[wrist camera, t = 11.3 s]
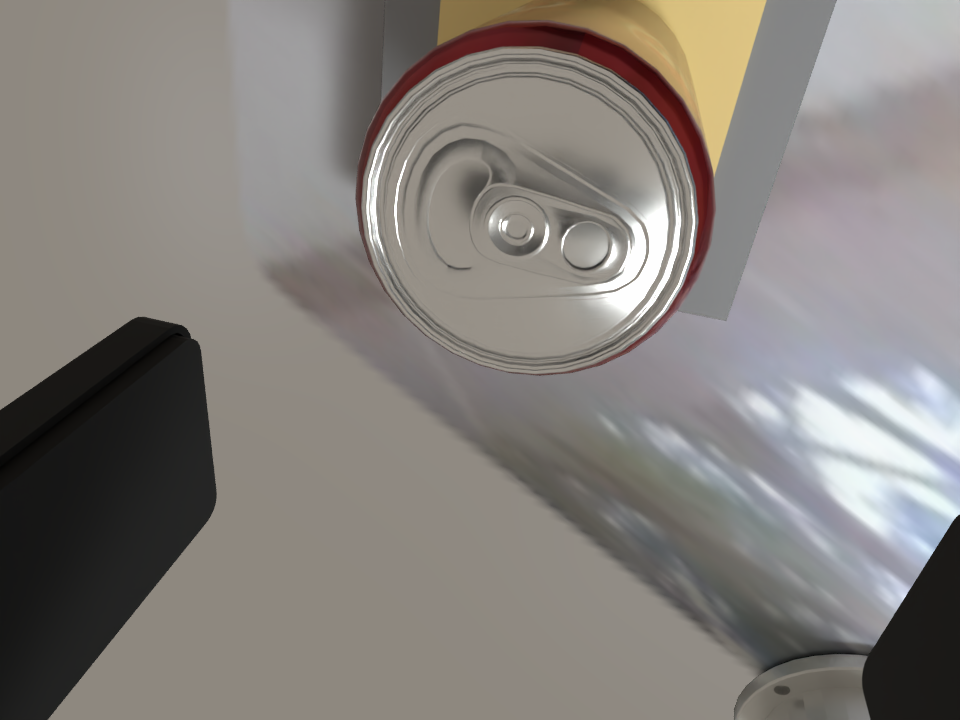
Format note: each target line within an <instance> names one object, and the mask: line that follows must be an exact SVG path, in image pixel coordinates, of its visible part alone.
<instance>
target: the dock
mask: <svg viewBox="0 0 960 720" xmlns="http://www.w3.org/2000/svg"><path fill="white" fill-rule="evenodd" d="M531 1H533V0H385V10H384V36H383V62H382V87H381V101H382V99H383V97H384V96H385V95H386V94H387V93H388V91H389V90H390V89H391V88H392V86H393V85H394V84H395V83H396V82H397V80H398V79H399V78H400V77H401V75H402V74H403V73H404V72H405V70H407V69H408V68H409V67H410V66H412V65H413V64H414V63H415V62H417V61H418V60H419V59H420V58H422V57H423V56H424V55H426V54H427V53H428V52H429V51H431V50H432V49H433V48H434V47H436V46H438V45H440V44H442V43H444V42H446V41H449V40H451V39H453V38H455V37H457V36H459V35H461V34H463V33H465V32H467V31H469V30H471V29H473V28H475V27H478V26H480V25H482V24H484V23H486V22H488V21H490V20H492V19H495V18H497V17H499V16H501V15H503V14H505V13H507V12H509V11H512V10H514V9H516V8H518V7H520V6H522V5H524V4H526V3H529V2H531ZM638 1H640V2H641V3H642V4H644V5H645V6H646V7H648V8H649V9H650V10H652V11H653V12H654V13H656V14H657V15H658V16H659V17H660V18H661V19H662V20H663V21H664V23H665V24H666V25H667V26H668V27H669V28H670V30H671V31H672V32H673V33H674V34H675V36H676V38H677V40H678V42H679V44H680V46H681V48H682V49H683V51H684V53H685V55H686V58H687V62H688V65H689V69H690V72H691V76H692V80H693V84H694V88H695V93H696V97H697V102H698V106H699V111H700V115H701V120H702V124H703V128H704V133H705V137H706V142H707V146H708V151H709V155H710V159H711V164H712V168H713V173H714V187H715V202H716V214H715V220H714V227H713V234H712V241H711V246H710V249H709V252H708V255H707V257H706V260H705V263H704V266H703V268H702V271H701V274H700V276H699V279H698V280H697V282H696V284H695V285H694V287H693V288H692V290H691V292H690V293H689V295H688V296H687V298H686V300H685V301H684V303H683V304H682V306H681V307H680V308H679V310H678V311H679V312H684V313H689V314H694V315H699V316H704V317H709V318H714V319H719V320H724V321H726V320H727V317H728V314H729V311H730V308H731V306H732V303H733V300H734V297H735V294H736V291H737V288H738V285H739V282H740V279H741V277H742V274H743V271H744V268H745V265H746V262H747V259H748V256H749V253H750V250H751V248H752V245H753V242H754V239H755V236H756V233H757V230H758V227H759V224H760V221H761V219H762V216H763V213H764V210H765V207H766V204H767V201H768V198H769V195H770V192H771V189H772V187H773V184H774V181H775V178H776V175H777V172H778V169H779V166H780V163H781V160H782V158H783V155H784V152H785V149H786V146H787V143H788V140H789V137H790V134H791V131H792V129H793V126H794V123H795V120H796V117H797V114H798V111H799V108H800V105H801V102H802V100H803V97H804V94H805V91H806V88H807V85H808V82H809V79H810V76H811V73H812V70H813V68H814V65H815V62H816V59H817V56H818V53H819V50H820V47H821V44H822V41H823V39H824V36H825V33H826V30H827V27H828V24H829V21H830V18H831V15H832V12H833V10H834V7H835V4H836V1H837V0H638Z"/></svg>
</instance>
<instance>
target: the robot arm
mask: <svg viewBox="0 0 960 720" xmlns="http://www.w3.org/2000/svg"><path fill="white" fill-rule="evenodd" d="M215 503H216V484H215V474H214V465H213V458H212V447H211V439H210V429H209V420H208V412H207V403H206V393H205V384H204V374H203V365H202V356H201V349H200V345H199V344H198V342H197V341H196V340H194V339H191V336H190V333H189V332H188V330H187V329H186V328H185V327H184V326H182V325H178V324H173V323H169V322H165V321H160V320H156V319H151V318H147V317H137V318H135V319H133V320H131V321H129V322H128V323H126V324H125V325H123V326H122V327H121V328H119V329H118V330H116V331H115V332H113V333H112V334H111V335H109V336H107V337H106V338H105V339H103V340H102V341H100V342H99V343H97V344H96V345H94V346H93V347H92V348H90V349H89V350H87V351H86V352H84V353H83V354H81V355H80V356H78V357H77V358H76V359H74V360H73V361H71V362H70V363H68V364H67V365H65V366H64V367H62V368H61V369H59V370H58V371H57V372H55V373H54V374H52V375H51V376H49V377H48V378H46V379H45V380H43V381H42V382H40V383H39V384H38V385H36V386H35V387H33V388H32V389H30V390H29V391H28V392H26V393H24V394H23V395H22V396H20V397H19V398H17V399H16V400H14V401H13V402H11V403H10V404H8V405H7V406H6V407H4V408H3V409H1V410H0V720H48V718H49V717H50V716H51V715H52V714H53V712H54V711H55V710H56V709H57V707H58V706H59V705H60V704H61V702H62V701H63V700H64V699H65V697H66V696H67V695H68V693H69V692H70V691H71V690H72V688H73V687H74V686H75V685H76V684H77V683H78V681H79V680H80V679H81V678H82V676H83V675H84V674H85V672H86V671H87V670H88V669H89V668H90V666H91V665H92V663H94V661H95V660H96V659H97V658H98V656H99V655H100V654H101V653H102V651H103V650H104V649H105V648H106V646H107V645H108V644H109V643H110V641H111V640H112V639H113V638H114V637H115V635H116V634H117V633H118V632H119V630H120V629H121V628H122V627H123V625H124V624H125V623H126V622H127V620H128V619H129V618H130V617H131V615H132V614H133V613H134V612H135V610H136V609H137V608H138V607H139V606H140V604H141V603H142V602H143V601H144V599H145V598H146V597H147V596H148V594H149V593H150V592H151V591H152V589H153V588H154V587H155V586H156V584H157V583H158V582H159V581H160V580H161V578H162V577H163V576H164V574H165V573H166V572H167V571H168V570H169V568H170V567H171V566H172V565H173V563H174V562H175V561H176V560H177V558H178V557H179V556H180V555H181V553H182V552H183V551H184V549H185V548H186V547H187V546H188V545H189V543H190V542H191V541H192V540H193V539H194V537H195V536H196V535H197V534H198V532H199V531H200V530H201V529H202V527H203V526H204V525H205V524H206V522H207V521H208V519H209V518H210V516H211V514H212V512H213V510H214V507H215ZM734 720H960V515H958V516H957V517H956V518H955V520H954V521H953V522H952V524H951V525H950V527H949V529H948V530H947V532H946V533H945V535H944V537H943V538H942V540H941V541H940V543H939V545H938V546H937V548H936V549H935V551H934V552H933V554H932V556H931V557H930V559H929V560H928V562H927V564H926V565H925V567H924V568H923V570H922V572H921V573H920V575H919V576H918V578H917V579H916V581H915V583H914V584H913V586H912V587H911V589H910V591H909V592H908V594H907V595H906V597H905V599H904V600H903V602H902V603H901V605H900V607H899V608H898V610H897V611H896V613H895V614H894V616H893V618H892V619H891V621H890V622H889V624H888V626H887V627H886V629H885V630H884V632H883V634H882V635H881V637H880V638H879V640H878V641H877V643H876V645H875V646H874V648H873V649H872V651H871V653H870V654H869V656H865V655H851V654H830V655H817V656H811V657H806V658H801V659H796V660H792V661H789V662H787V663H784V664H781V665H778V666H775V667H773V668H772V669H770V670H768V671H766V672H764V673H762V674H761V675H759V676H758V677H756V678H755V679H754V680H753V681H752V682H750V683H749V684H748V685H747V686H746V687H745V689H744V690H743V691H742V693H741V694H740V695H739V697H738V699H737V703H736V705H735V708H734Z"/></svg>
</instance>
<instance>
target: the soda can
mask: <svg viewBox="0 0 960 720" xmlns="http://www.w3.org/2000/svg"><path fill="white" fill-rule="evenodd" d="M356 206H357V214H358V222H359V231H360V234H361V237H362V240H363V244H364V247H365V250H366V253H367V256H368V260H369V262H370V264H371V266H372V268H373V270H374V272H375V274H376V276H377V278H378V279H379V281H380V283H381V285H382V287H383V289H384V291H385V292H386V293H387V294H388V296H389V297H390V298H391V300H392V301H393V302H394V304H395V305H396V306H397V307H398V309H399V310H400V311H401V313H402V314H403V315H404V316H405V317H406V318H407V319H408V320H409V321H410V322H412V323H413V324H414V325H415V326H416V327H417V328H418V329H419V330H420V331H421V332H422V333H423V334H424V335H426V336H427V337H429V338H430V339H432V340H433V341H435V342H436V343H438V344H439V345H441V346H442V347H444V348H445V349H447V350H448V351H450V352H451V353H453V354H456V355H458V356H460V357H462V358H465V359H467V360H469V361H471V362H474V363H476V364H478V365H481V366H485V367H489V368H493V369H496V370H500V371H504V372H508V373H517V374H528V375H539V376H541V375H553V374H565V373H573V372H577V371H581V370H584V369H588V368H592V367H596V366H600V365H602V364H605V363H607V362H609V361H611V360H613V359H615V358H617V357H620V356H622V355H624V354H626V353H628V352H630V351H631V350H633V349H634V348H636V347H637V346H638V345H640V344H641V343H643V342H644V341H645V340H647V339H648V338H650V337H651V336H652V335H654V334H655V333H656V332H658V331H659V330H660V329H661V328H662V326H663V325H664V324H665V323H666V322H667V321H668V320H669V319H670V318H671V317H672V316H673V315H674V314H675V313H676V312H677V311H678V310H679V308H680V307H681V306H682V304H683V303H684V301H685V300H686V298H687V296H688V295H689V293H690V292H691V290H692V288H693V287H694V285H695V284H696V282H697V280H698V279H699V276H700V274H701V271H702V268H703V266H704V263H705V260H706V257H707V255H708V252H709V249H710V246H711V241H712V234H713V227H714V220H715V214H716V202H715V187H714V173H713V168H712V164H711V159H710V155H709V151H708V146H707V142H706V137H705V133H704V128H703V124H702V120H701V115H700V111H699V106H698V102H697V97H696V93H695V88H694V84H693V80H692V76H691V72H690V69H689V65H688V62H687V58H686V55H685V53H684V51H683V49H682V48H681V46H680V44H679V42H678V40H677V38H676V36H675V34H674V33H673V32H672V31H671V30H670V28H669V27H668V26H667V25H666V24H665V23H664V21H663V20H662V19H661V18H660V17H659V16H658V15H657V14H656V13H654V12H653V11H652V10H650V9H649V8H648V7H646V6H645V5H644V4H642V3H641V2H640V1H638V0H533V1H531V2H529V3H526V4H524V5H522V6H520V7H518V8H516V9H514V10H512V11H509V12H507V13H505V14H503V15H501V16H499V17H497V18H495V19H492V20H490V21H488V22H486V23H484V24H482V25H480V26H478V27H475V28H473V29H471V30H469V31H467V32H465V33H463V34H461V35H459V36H457V37H455V38H453V39H451V40H449V41H446V42H444V43H442V44H440V45H438V46H436V47H434V48H433V49H432V50H431V51H429V52H428V53H427V54H426V55H424V56H423V57H422V58H420V59H419V60H418V61H417V62H415V63H414V64H413V65H412V66H410V67H409V68H408V69H407V70H405V72H404V73H403V74H402V75H401V77H400V78H399V79H398V80H397V82H396V83H395V84H394V85H393V86H392V88H391V89H390V90H389V91H388V93H387V94H386V95H385V96H384V97H383V99H382V101H381V103H380V105H379V107H378V109H377V111H376V113H375V115H374V117H373V119H372V121H371V122H370V124H369V126H368V128H367V131H366V135H365V138H364V142H363V146H362V149H361V153H360V157H359V160H358V169H357V184H356Z"/></svg>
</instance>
